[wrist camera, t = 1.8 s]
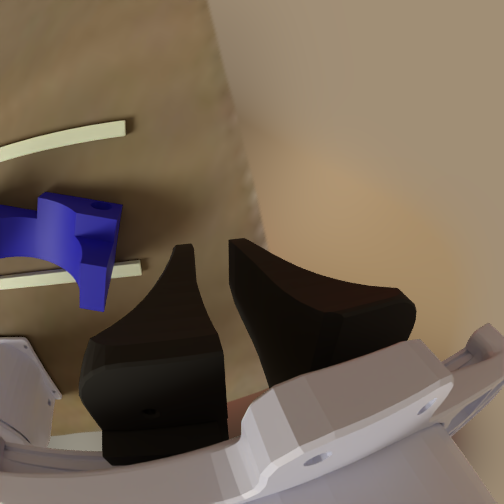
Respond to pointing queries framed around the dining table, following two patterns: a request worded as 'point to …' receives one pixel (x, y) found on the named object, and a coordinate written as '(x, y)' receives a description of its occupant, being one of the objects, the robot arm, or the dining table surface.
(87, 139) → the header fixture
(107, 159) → the dining table surface
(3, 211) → the cable clip
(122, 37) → the dining table surface
